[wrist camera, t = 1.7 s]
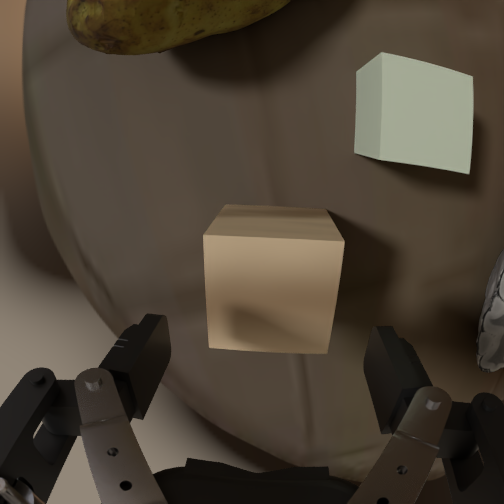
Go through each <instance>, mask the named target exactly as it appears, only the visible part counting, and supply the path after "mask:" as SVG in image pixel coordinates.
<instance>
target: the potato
mask: <svg viewBox="0 0 504 504" xmlns="http://www.w3.org/2000/svg"><path fill="white" fill-rule="evenodd" d="M290 1H291V0H67V9H66V17H67V23H68V27H69V30H70V32H71V34H72V35H73V37H74V38H75V39H76V40H77V41H78V42H79V43H81V44H82V45H84V46H86V47H88V48H91V49H93V50H96V51H100V52H103V53H106V54H117V55H140V54H149V53H155V52H158V53H161V52H164V51H166V50H169V49H172V48H174V47H177V46H181V45H184V44H187V43H191V42H194V41H196V40H199V39H202V38H204V37H207V36H210V35H213V34H222V33H227V32H232V31H235V30H238V29H242V28H244V27H246V26H248V25H250V24H252V23H254V22H256V21H259V20H261V19H263V18H265V17H267V16H269V15H270V14H272V13H274V12H276V11H277V10H279V9H280V8H282V7H283V6H285V5H286V4H287V3H289V2H290Z"/></svg>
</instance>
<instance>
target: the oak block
mask: <svg viewBox="0 0 504 504" xmlns="http://www.w3.org/2000/svg"><path fill="white" fill-rule="evenodd" d="M203 242H204V268H205V289H206V307H207V323H208V338H209V348H219V349H231V350H244V351H259V352H278V353H306V354H327V351H328V346H329V341H330V336H331V330H332V325H333V319H334V313H335V307H336V301H337V295H338V288H339V281H340V275H341V267H342V260H343V252H344V244H345V241H344V239H343V238H342V236H341V234H340V232H339V231H338V229H337V227H336V226H335V224H334V222H333V220H332V219H331V217H330V215H329V214H328V212H327V210H326V209H317V208H299V207H279V206H255V205H225V206H224V207H223V209H222V210H221V211H220V213H219V214H218V216H217V217H216V218H215V220H214V221H213V222H212V224H211V225H210V226H209V228H208V229H207V231H206V232H205V233H204V235H203Z"/></svg>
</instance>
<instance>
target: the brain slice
mask: <svg viewBox="0 0 504 504" xmlns="http://www.w3.org/2000/svg"><path fill="white" fill-rule="evenodd" d="M485 297H486V299H485V302H484V305H483V308H482V312H481V316H480V319H479V326H478V337H477V343H476V344H477V352H476V354H477V355H476V357H477V364H478V366H479V368H480V369H481V371H484V372H495V371H496V370H498V369H500V368H503V367H504V249H503V251H502V252H501V254H500V256H499V257H498V259H497V262H496V264H495V267H494V268H493V270H492V272H491V275H490V277H489V281H488V285H487V288H486V293H485Z"/></svg>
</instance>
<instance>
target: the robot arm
mask: <svg viewBox="0 0 504 504" xmlns="http://www.w3.org/2000/svg"><path fill="white" fill-rule="evenodd" d="M170 357H171V343H170V337H169V329H168V322H167V318H166V316H165V315H156V314H146V315H145V316H144V318H143V319H142V321H141V322H140V323H139V325H137V324H133V325H132V326H130V327H129V328H127V329H126V330H124V332H123V333H122V334H121V336H120V337H119V340H117V341H116V343H115V344H114V347H112V348H111V350H110V351H109V352H108V354H107V355H106V357H105V358H104V360H103V361H102V363H101V364H100V365H99V367H98V368H91V369H87V370H85V371H83V372H81V373H80V374H79V375H78V376H77V378H76V379H75V380H56V377H55V375H54V373H53V372H52V371H51V370H50V369H48V368H36V369H33V370H31V371H29V372H28V373H26V374H25V375H24V377H23V378H22V379H21V380H20V382H19V383H18V384H17V386H16V387H15V388H14V390H13V391H12V392H11V393H10V395H9V396H8V398H7V399H6V400H5V402H4V403H3V404H2V406H1V407H0V504H46V503H47V501H48V498H49V496H50V493H51V491H52V489H53V487H54V485H55V483H56V480H57V478H58V476H59V474H60V471H61V469H62V467H63V465H64V463H65V461H66V459H67V457H68V455H69V452H70V450H71V448H72V446H73V444H74V442H75V440H76V438H77V436H82V440H83V444H84V448H85V452H86V455H87V458H88V462H89V466H90V469H91V472H92V476H93V479H94V482H95V485H96V488H97V491H98V494H99V496H100V499H101V502H102V503H101V504H414V502H415V501H416V499H417V497H418V495H419V493H420V491H421V489H422V487H423V485H424V483H425V481H426V479H427V477H428V475H429V472H430V470H431V468H432V466H433V463H434V461H435V459H436V458H442V462H443V465H444V469H445V473H446V476H447V480H448V484H449V488H450V492H451V496H452V500H453V504H504V405H503V403H502V401H501V400H500V399H499V398H498V397H497V396H495V395H493V394H490V393H479V394H477V395H476V396H475V397H474V398H473V400H472V402H471V403H463V402H454V401H452V400H451V397H450V396H449V394H448V393H447V392H446V391H444V390H443V389H441V388H438V387H434V386H433V385H432V383H431V381H430V379H429V377H428V375H427V373H426V371H425V369H424V367H423V365H422V363H420V362H421V361H420V359H419V358H418V356H417V354H416V352H415V350H414V348H413V346H412V345H411V344H410V343H408V342H407V341H406V340H405V339H404V338H398V336H397V334H396V332H395V330H394V328H393V327H392V326H374V327H373V328H372V330H371V334H370V338H369V342H368V346H367V350H366V353H365V357H364V374H365V377H366V380H367V384H368V387H369V391H370V394H371V398H372V401H373V405H374V409H375V412H376V416H377V420H378V423H379V427H380V431H381V434H389V433H392V437H391V439H390V441H389V442H388V444H387V446H386V447H385V449H384V451H383V452H382V454H381V455H380V457H379V459H378V460H377V462H376V463H375V465H374V466H373V468H372V469H371V471H370V472H369V474H368V475H367V477H366V478H365V480H364V481H363V482H362V484H361V485H360V487H358V486H357V485H355V484H353V483H351V482H349V481H347V480H344V479H341V478H338V477H334V476H329V468H328V467H293V468H287V469H281V470H276V471H270V472H263V473H254V472H250V471H247V470H243V469H240V468H237V467H233V466H230V465H227V464H224V463H220V462H212V461H205V460H198V459H192V458H187V461H186V465H185V467H176V468H170V469H165V470H162V471H160V472H157V473H155V474H152V472H151V470H150V468H149V466H148V464H147V461H146V459H145V457H144V455H143V453H142V451H141V448H140V446H139V444H138V442H137V439H136V437H135V435H134V433H133V430H132V428H131V425H130V422H131V420H132V418H137V419H141V420H143V419H144V416H145V414H146V412H147V410H148V408H149V405H150V403H151V401H152V399H153V396H154V394H155V392H156V390H157V388H158V385H159V383H160V381H161V379H162V377H163V374H164V372H165V370H166V368H167V366H168V363H169V361H170ZM41 421H42V422H43V424H42V425H41V427H40V429H39V430H38V432H37V434H36V436H35V438H34V439H33V435H34V432H35V431H36V429H37V427H38V426H39V424H40V422H41ZM478 449H479V450H480V452H481V455H482V458H483V461H484V466H483V463H482V461H481V458H480V455H479V452H478Z"/></svg>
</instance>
